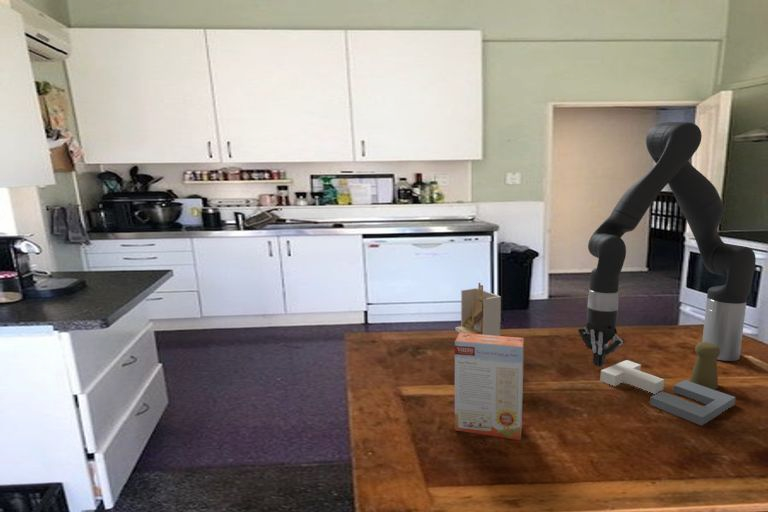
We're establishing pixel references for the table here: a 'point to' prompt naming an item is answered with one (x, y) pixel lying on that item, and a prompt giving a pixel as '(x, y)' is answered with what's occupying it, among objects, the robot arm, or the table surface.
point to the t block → (631, 377)
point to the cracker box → (489, 385)
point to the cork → (706, 365)
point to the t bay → (690, 410)
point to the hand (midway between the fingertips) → (598, 365)
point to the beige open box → (480, 312)
